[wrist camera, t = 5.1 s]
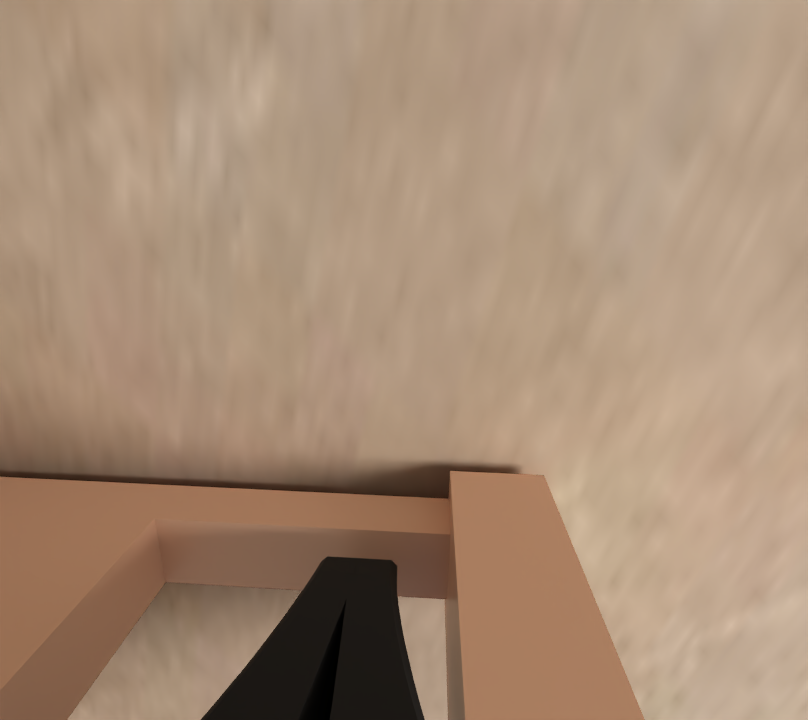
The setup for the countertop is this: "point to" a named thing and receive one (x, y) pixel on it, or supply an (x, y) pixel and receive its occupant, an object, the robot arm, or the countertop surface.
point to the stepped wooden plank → (292, 569)
